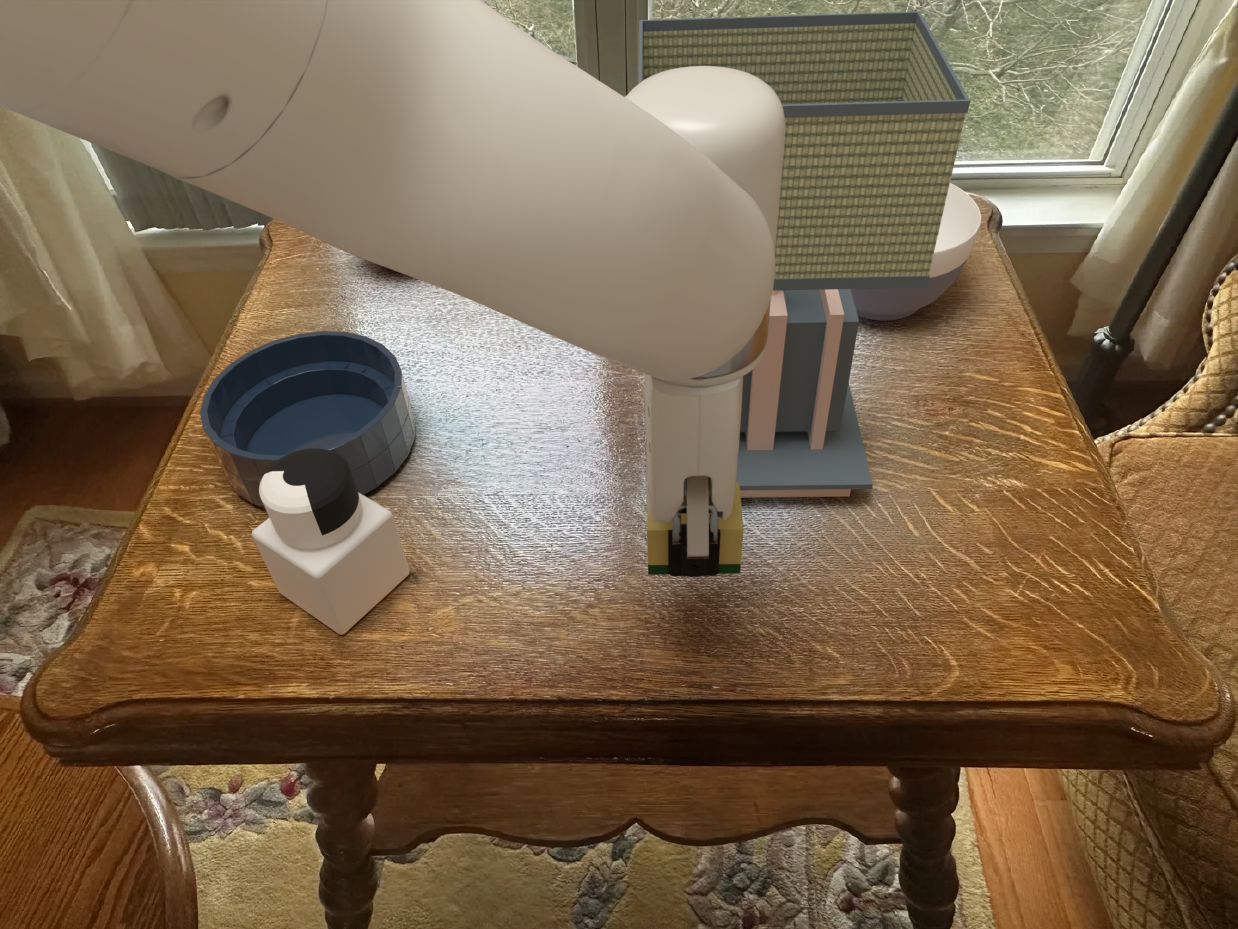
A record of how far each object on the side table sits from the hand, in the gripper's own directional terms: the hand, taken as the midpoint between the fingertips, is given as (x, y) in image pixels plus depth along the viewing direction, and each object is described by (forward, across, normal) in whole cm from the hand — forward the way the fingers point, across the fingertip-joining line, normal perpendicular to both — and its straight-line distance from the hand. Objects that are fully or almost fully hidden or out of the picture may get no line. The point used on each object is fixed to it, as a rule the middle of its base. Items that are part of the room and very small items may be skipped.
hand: (691, 542), depth 62 cm
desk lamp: (+8, -18, +6) cm, 20 cm away
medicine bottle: (+8, -3, -26) cm, 27 cm away
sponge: (+1, 0, 0) cm, 1 cm away
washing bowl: (+8, -18, -31) cm, 37 cm away
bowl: (+9, -39, +20) cm, 45 cm away
